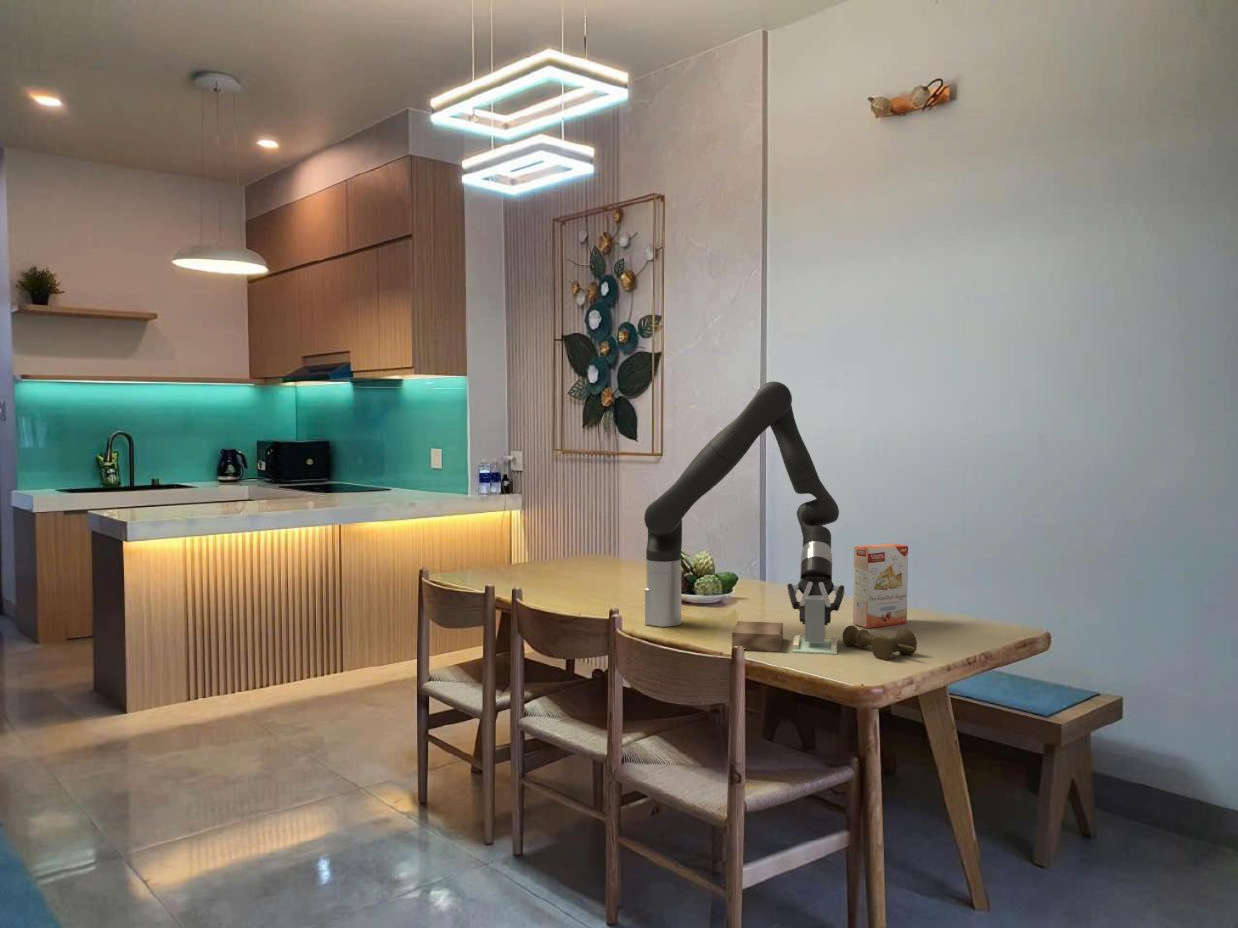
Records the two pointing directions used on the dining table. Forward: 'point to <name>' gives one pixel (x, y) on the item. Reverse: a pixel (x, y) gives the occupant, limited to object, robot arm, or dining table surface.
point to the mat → (815, 646)
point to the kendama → (881, 642)
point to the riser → (758, 635)
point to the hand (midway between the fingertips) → (815, 622)
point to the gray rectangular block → (815, 618)
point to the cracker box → (880, 585)
